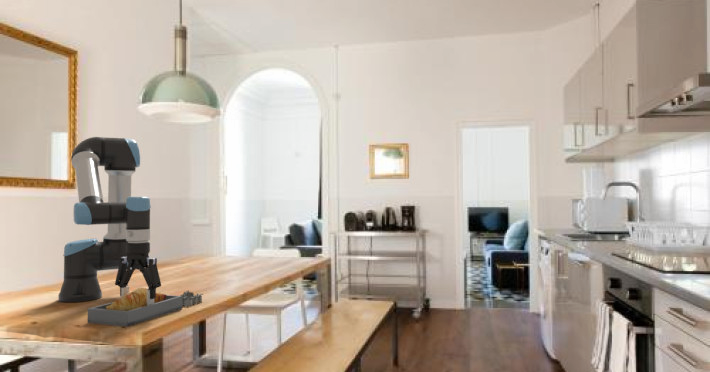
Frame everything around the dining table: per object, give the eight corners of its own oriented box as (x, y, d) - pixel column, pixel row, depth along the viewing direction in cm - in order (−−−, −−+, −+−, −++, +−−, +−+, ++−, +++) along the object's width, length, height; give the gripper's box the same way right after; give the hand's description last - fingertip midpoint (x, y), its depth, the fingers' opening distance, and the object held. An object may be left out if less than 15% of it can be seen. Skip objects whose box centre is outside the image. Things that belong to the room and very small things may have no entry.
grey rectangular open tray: (87, 322, 157) (87, 308, 157) (146, 305, 182) (146, 293, 182) (127, 326, 152) (127, 312, 152) (182, 308, 177) (182, 296, 177)
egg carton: (188, 300, 193) (188, 289, 193) (205, 301, 191) (205, 290, 191) (171, 305, 182) (171, 294, 183) (188, 307, 180) (188, 295, 180)
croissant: (111, 326, 156) (117, 305, 154) (96, 308, 162) (102, 287, 159) (169, 312, 174) (176, 293, 172) (154, 295, 179) (160, 277, 177)
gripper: (103, 242, 168) (102, 307, 167) (157, 243, 160) (157, 312, 160) (120, 240, 175) (119, 303, 174) (172, 241, 167) (172, 307, 167)
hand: (137, 307), depth 167 cm, fingers closed on croissant, 10 cm apart
